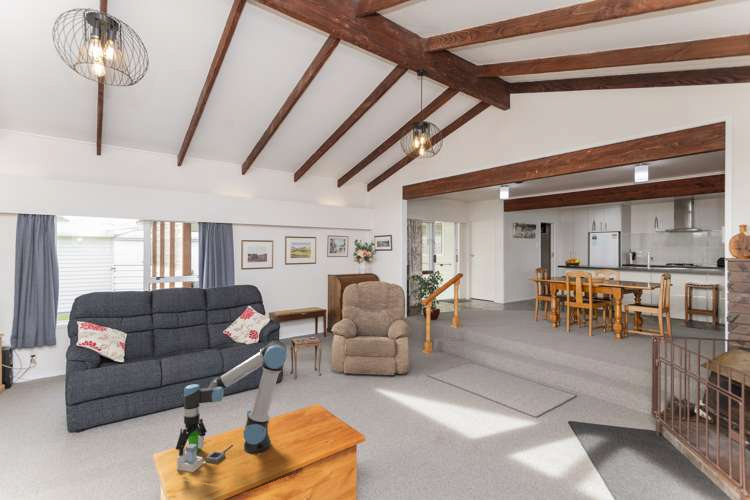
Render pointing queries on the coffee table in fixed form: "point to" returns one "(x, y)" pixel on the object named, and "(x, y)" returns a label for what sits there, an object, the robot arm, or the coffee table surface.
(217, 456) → the grey square socket
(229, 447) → the cord
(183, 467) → the tray
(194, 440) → the cup
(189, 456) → the plug
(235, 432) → the coffee table surface
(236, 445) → the coffee table surface
